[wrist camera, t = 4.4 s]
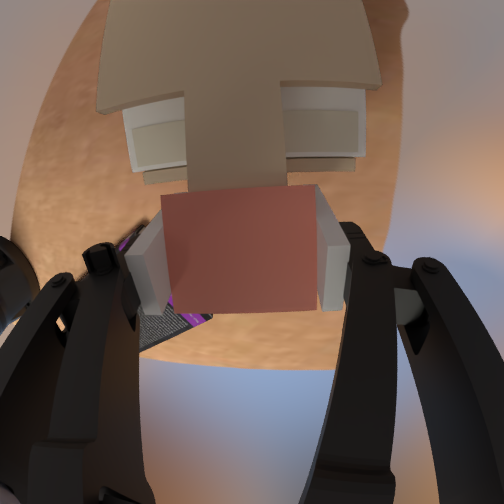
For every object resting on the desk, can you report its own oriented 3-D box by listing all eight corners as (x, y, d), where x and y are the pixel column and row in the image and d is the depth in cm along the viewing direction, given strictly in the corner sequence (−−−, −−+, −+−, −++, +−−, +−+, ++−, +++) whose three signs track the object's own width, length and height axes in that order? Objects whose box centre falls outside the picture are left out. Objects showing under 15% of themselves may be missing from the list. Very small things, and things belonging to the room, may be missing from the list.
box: (146, 220, 32) (69, 288, 38) (134, 232, 29) (58, 302, 35) (217, 301, 37) (129, 346, 43) (214, 318, 34) (122, 362, 40)
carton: (184, 151, 27) (134, 188, 17) (171, 31, 21) (113, -2, 10) (325, 142, 26) (365, 173, 16) (317, 18, 20) (352, -28, 9)
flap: (125, 296, 14) (107, 311, 12) (124, -6, 10) (110, -22, 8) (379, 288, 13) (394, 303, 11) (341, -30, 9) (347, -50, 7)
